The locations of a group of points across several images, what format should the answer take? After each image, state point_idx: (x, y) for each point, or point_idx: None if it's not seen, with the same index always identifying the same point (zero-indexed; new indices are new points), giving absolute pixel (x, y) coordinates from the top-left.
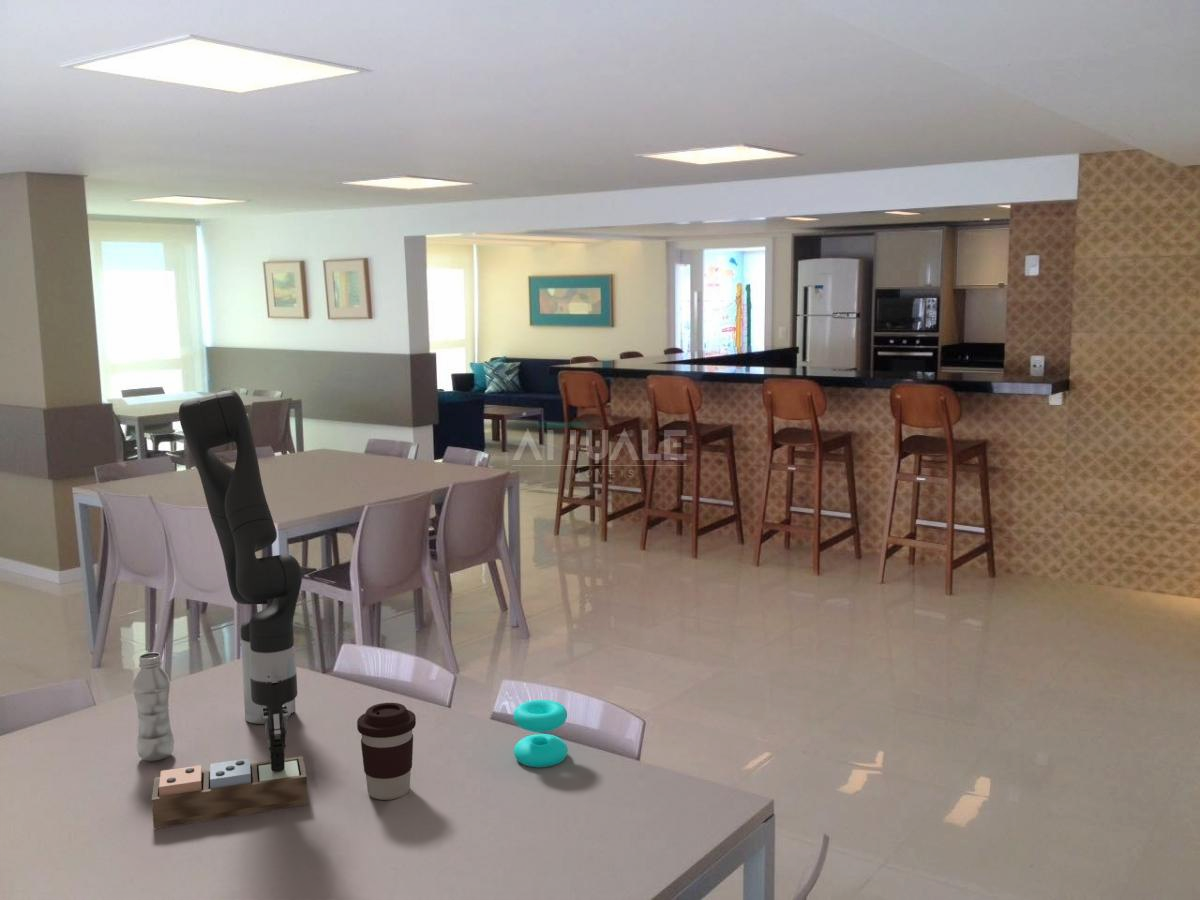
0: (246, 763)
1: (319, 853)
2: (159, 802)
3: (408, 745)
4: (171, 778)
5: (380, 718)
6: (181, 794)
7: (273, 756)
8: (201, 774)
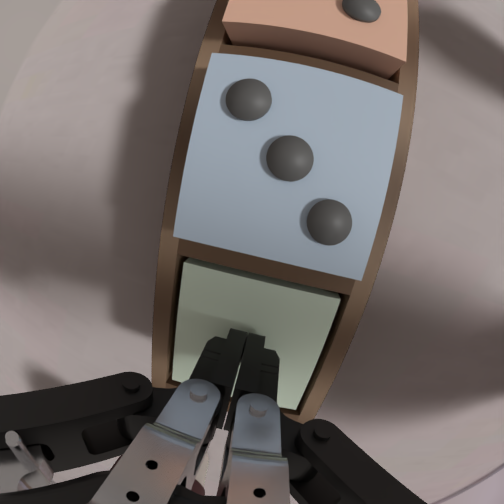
0: (307, 250)
1: (18, 278)
2: None
3: None
4: None
5: None
6: None
7: (193, 371)
8: (342, 49)
